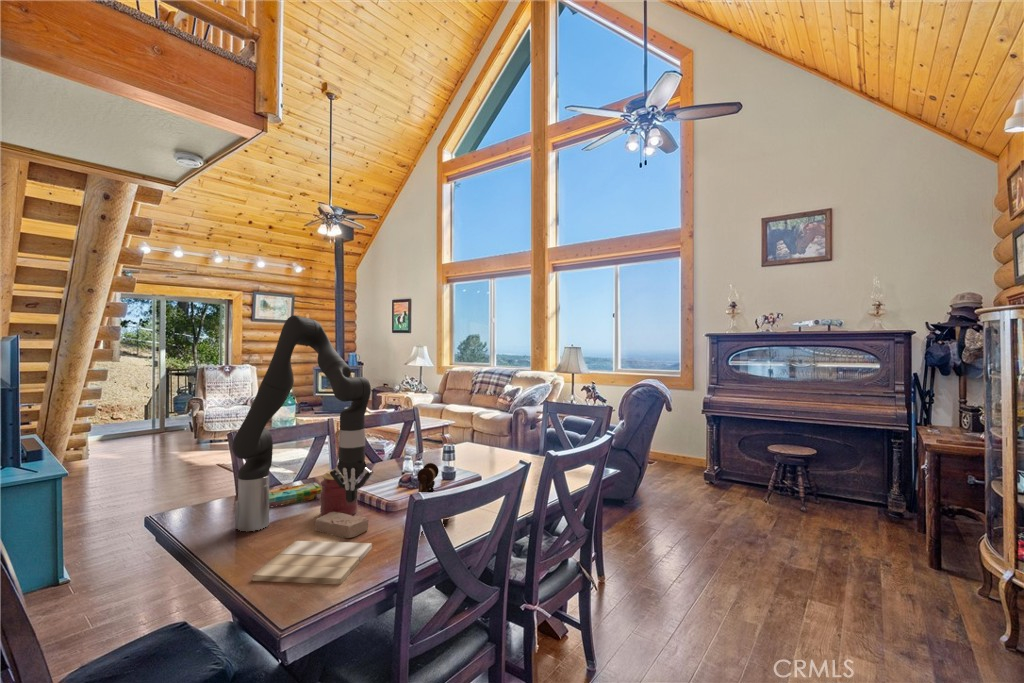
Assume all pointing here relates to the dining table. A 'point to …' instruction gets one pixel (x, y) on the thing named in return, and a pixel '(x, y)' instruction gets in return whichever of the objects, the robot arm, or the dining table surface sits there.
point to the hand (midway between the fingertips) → (351, 501)
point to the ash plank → (328, 549)
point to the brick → (341, 524)
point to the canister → (335, 497)
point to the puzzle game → (293, 494)
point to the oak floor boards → (307, 569)
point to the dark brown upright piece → (428, 479)
